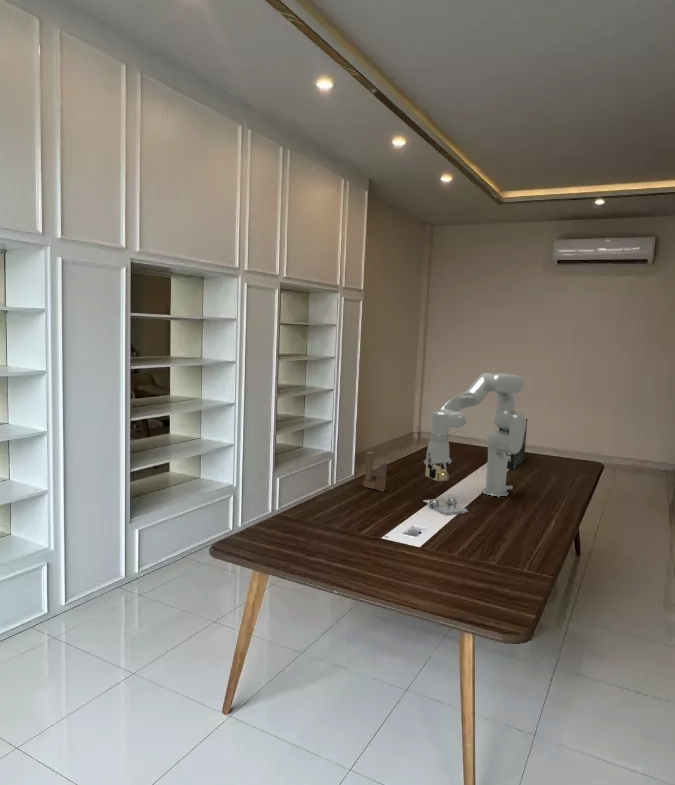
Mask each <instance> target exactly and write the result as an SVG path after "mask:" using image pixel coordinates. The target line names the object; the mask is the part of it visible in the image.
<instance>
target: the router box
mask: <svg viewBox="0 0 675 785" xmlns="http://www.w3.org/2000/svg"><path fill="white" fill-rule="evenodd" d="M527 426H528V418H526V428H525V433H524V438H523V443H522V447H521V449H520V451H519V452H518V453H516V454H510V453H506V455H507V459H508V463H507V470H511V469H515V468H516V467H517V466H520V464H522V462H524V460H525V458H526V457H525V456H526V444H527V443H526V442H527V441H526V440H527V430H528V429H527ZM498 431H502V432H507V433H509V430H506V429H502V428H499V427H498ZM515 470H516V469H515Z"/></svg>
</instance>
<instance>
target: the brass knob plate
mask: <svg viewBox="0 0 675 785" xmlns="http://www.w3.org/2000/svg"><path fill="white" fill-rule="evenodd" d="M434 470H435V474H434V479H432V478H430V477H429V468H428V467H427V465H426V464H425V475H424V476H425V477H427V478H430V479H432V480H434V481H437V482H438V481H439V482H444V481H446V482H447V481H449V480H450V476H449V473H448V472H447V468H446V469H444V468H442V467H441V466H440V465H437V464H435V467H434Z"/></svg>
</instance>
